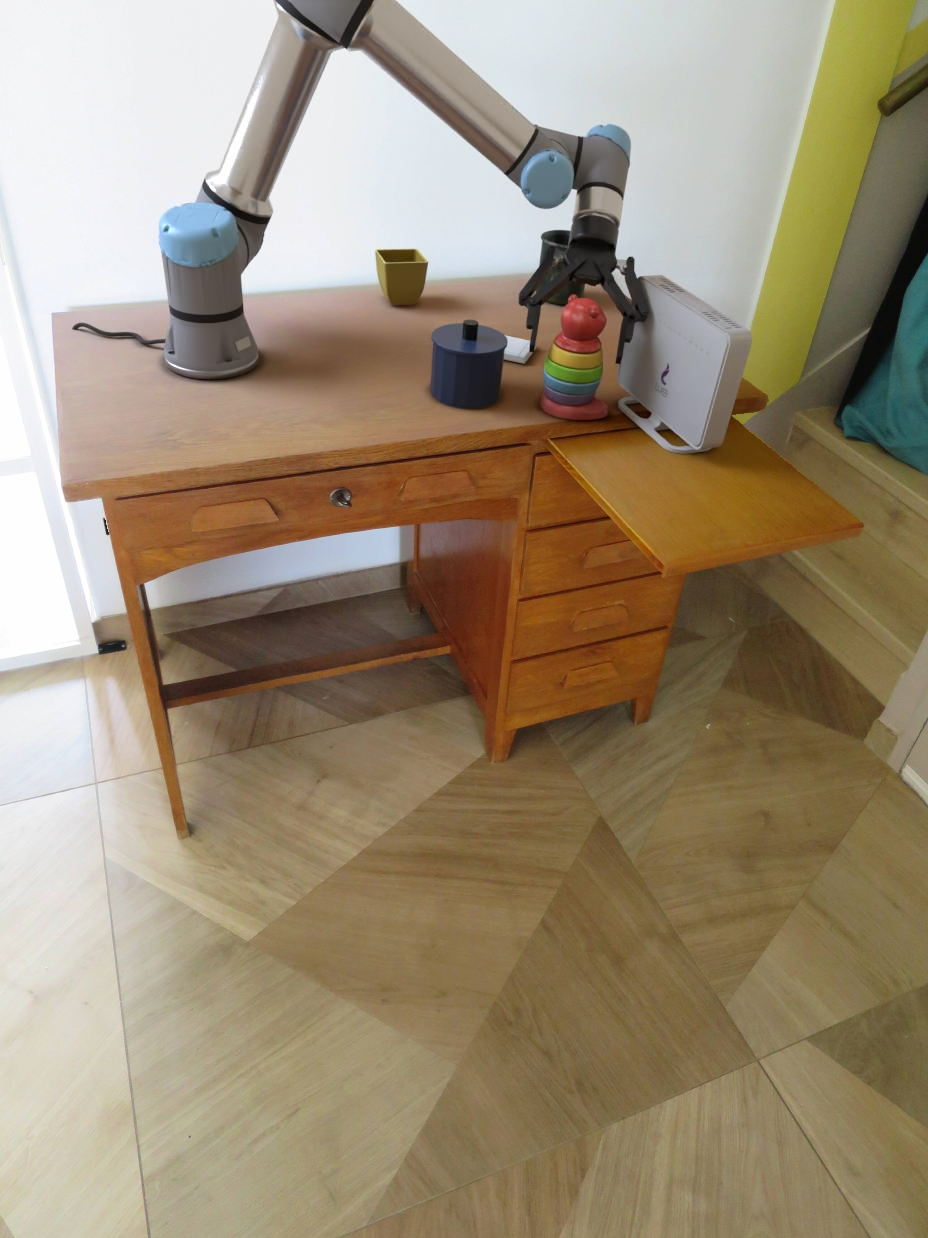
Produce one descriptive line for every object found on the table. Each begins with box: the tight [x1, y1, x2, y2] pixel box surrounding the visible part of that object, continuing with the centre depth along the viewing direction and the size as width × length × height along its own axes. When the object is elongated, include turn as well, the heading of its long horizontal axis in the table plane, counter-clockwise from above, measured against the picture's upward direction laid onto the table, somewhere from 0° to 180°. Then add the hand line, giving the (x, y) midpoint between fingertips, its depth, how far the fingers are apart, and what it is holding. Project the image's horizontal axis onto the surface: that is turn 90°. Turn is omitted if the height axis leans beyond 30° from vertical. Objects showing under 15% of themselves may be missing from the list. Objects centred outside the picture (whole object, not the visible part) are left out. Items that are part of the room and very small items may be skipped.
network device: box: [616, 274, 753, 455], centre depth 136 cm, size 26×9×20 cm, turn 22°
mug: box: [535, 229, 586, 306], centre depth 180 cm, size 11×15×12 cm
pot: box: [429, 342, 505, 410], centre depth 143 cm, size 11×11×9 cm
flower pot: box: [374, 248, 429, 306], centre depth 174 cm, size 9×9×9 cm
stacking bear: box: [539, 294, 609, 421], centre depth 139 cm, size 11×10×18 cm
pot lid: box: [430, 318, 508, 356], centre depth 139 cm, size 12×12×4 cm
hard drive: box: [504, 334, 537, 364], centre depth 160 cm, size 2×8×12 cm
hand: (575, 354), depth 136 cm, fingers open, 13 cm apart
